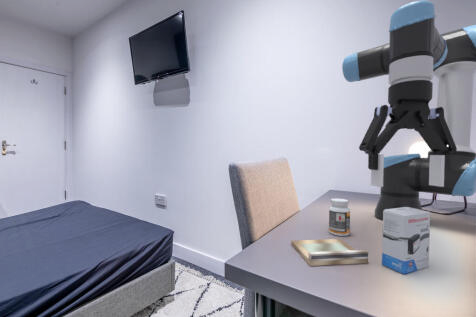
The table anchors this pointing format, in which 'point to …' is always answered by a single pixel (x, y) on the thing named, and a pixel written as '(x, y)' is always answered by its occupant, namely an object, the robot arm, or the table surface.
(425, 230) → the ink box
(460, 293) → the table surface
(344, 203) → the pill bottle
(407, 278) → the table surface
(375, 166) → the robot arm
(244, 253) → the table surface
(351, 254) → the tan flat block
